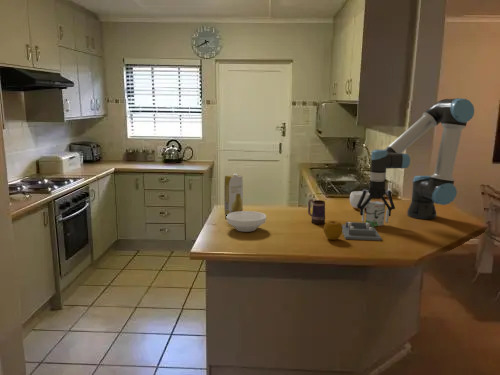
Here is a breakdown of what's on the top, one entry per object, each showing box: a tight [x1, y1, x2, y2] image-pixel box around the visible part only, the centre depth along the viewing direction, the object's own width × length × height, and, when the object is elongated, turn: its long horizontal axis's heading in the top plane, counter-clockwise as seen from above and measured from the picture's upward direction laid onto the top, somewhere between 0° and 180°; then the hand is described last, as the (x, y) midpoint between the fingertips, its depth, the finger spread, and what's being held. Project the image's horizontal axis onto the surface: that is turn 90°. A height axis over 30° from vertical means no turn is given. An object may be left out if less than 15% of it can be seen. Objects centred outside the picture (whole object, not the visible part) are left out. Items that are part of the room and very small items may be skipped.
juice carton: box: [223, 173, 244, 216], centre depth 221 cm, size 9×8×24 cm
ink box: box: [365, 200, 386, 228], centre depth 207 cm, size 9×5×12 cm, turn 119°
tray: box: [342, 221, 382, 242], centre depth 193 cm, size 16×20×4 cm
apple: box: [323, 220, 343, 241], centre depth 183 cm, size 9×8×9 cm
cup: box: [349, 190, 372, 211], centre depth 241 cm, size 12×12×10 cm
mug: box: [307, 198, 326, 225], centre depth 211 cm, size 10×7×12 cm
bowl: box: [225, 210, 267, 233], centre depth 197 cm, size 20×20×7 cm
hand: (374, 221), depth 208 cm, fingers open, 11 cm apart
